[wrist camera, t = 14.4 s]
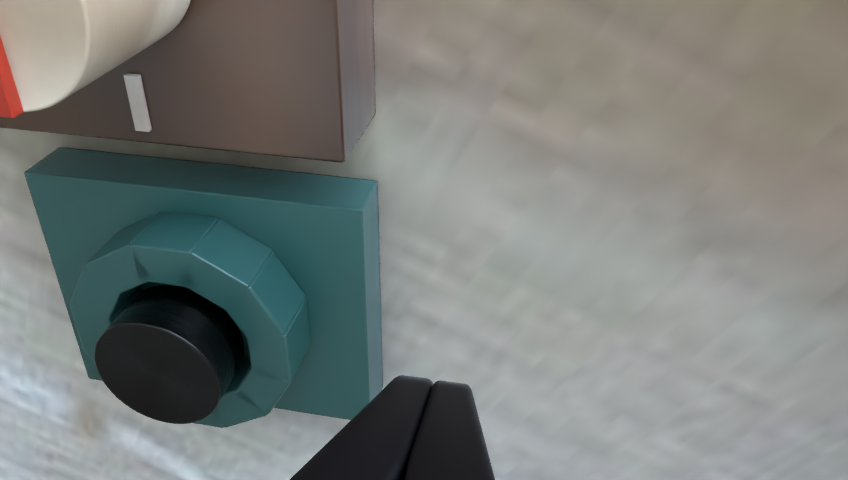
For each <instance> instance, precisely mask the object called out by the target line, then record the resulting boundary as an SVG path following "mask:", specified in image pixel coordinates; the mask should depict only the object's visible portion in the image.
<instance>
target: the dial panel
mask: <svg viewBox="0 0 848 480" xmlns="http://www.w3.org/2000/svg"><path fill="white" fill-rule="evenodd" d="M374 115H375V75H374V35H373V0H191V1H190V5H189V7H188V9H187V11H186V13H185V15H184V17H183V18H182V20H181V21H180V23H179V24H178V25H177V26H176V27H175V28H174V29H173V30H172V31H171V32H170V33H168V34H167V35H166V36H164V37H163V38H161V39H160V40H158V41H157V42H155V43H153V44H152V45H150V46H149V47H147V48H145V49H144V50H142V51H141V52H139V53H137V54H136V55H134V56H133V57H131V58H130V59H128V60H126V61H125V62H123V63H122V64H120V65H118V66H117V67H115V68H114V69H112V70H110V71H109V72H107V73H106V74H104V75H102V76H101V77H99V78H98V79H96V80H95V81H93V82H91V83H90V84H88V85H87V86H85V87H83V88H82V89H80V90H79V91H77V92H75V93H74V94H72V95H71V96H69V97H67V98H66V99H64V100H63V101H61V102H59V103H57V104H55V105H53V106H51V107H49V108H46V109H42V110H39V111H31V112H23V113H22V114H20V115H18V116H17V117H15V118H8V117H0V127H1V128H11V129H20V130H30V131H40V132H50V133H59V134H69V135H79V136H89V137H98V138H108V139H118V140H128V141H138V142H147V143H157V144H167V145H177V146H186V147H196V148H206V149H216V150H226V151H235V152H245V153H255V154H265V155H274V156H284V157H294V158H304V159H314V160H323V161H333V162H345V160H346V159H347V157H348V156H349V154H350V152H351V151H352V149H353V148H354V146H355V145H356V143H357V141H358V140H359V138H360V137H361V135H362V134H363V132H364V130H365V129H366V127H367V126H368V124H369V123H370V121H371V120H372V118H373V116H374Z"/></svg>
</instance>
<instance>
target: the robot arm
mask: <svg viewBox="0 0 848 480" xmlns="http://www.w3.org/2000/svg"><path fill="white" fill-rule="evenodd" d="M290 480H495V478H494V475H493V471H492V467H491V463H490V459H489V455H488V451H487V448H486V444H485V440H484V436H483V432H482V428H481V425H480V421H479V417H478V413H477V409H476V405H475V402H474V398H473V394H472V390H471V388H470V387H469V386H468V385H466V384H461V383H454V382H447V381H437V382H435V384H434V385H433V383H432V381H430V380H429V379H425V378H418V377H411V376H404V375H401V376H398V377H396V378H394V379H393V380H392V381H391V382H390V383H389V384H388V385H387V386H386V387H385V388H384V389H383V390H382V391H381V392H380V393H379V394H378V395H377V396H376V397H375V398H374V399H373V400H372V401H371V402H370V403H368V404H367V405H366V406H365V407H364V408H363V409H362V410H361V411H360V412H359V413H358V414H357V415H356V416H355V417H354V418H353V419H352V420H351V421H350V422H349V423H348V424H347V425H346V426H345V427H344V428H343V429H342V430H341V431H340V432H339V433H337V434H336V435H335V436H334V437H333V438H332V439H331V440H330V441H329V442H328V443H327V444H326V445H325V446H324V447H323V448H322V449H321V450H320V451H319V452H318V453H317V454H316V455H315V456H314V457H313V458H312V459H311V460H310V461H309V462H307V463H306V464H305V465H304V466H303V467H302V468H301V469H300V470H299V471H298V472H297V473H296V474H295V475H294V476H293V477H292V478H291V479H290Z"/></svg>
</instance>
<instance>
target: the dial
mask: <svg viewBox="0 0 848 480" xmlns="http://www.w3.org/2000/svg"><path fill="white" fill-rule="evenodd" d="M190 1H191V0H0V117H8V118H15V117H17V116H18V115H20V114H22V113H23V112H31V111H39V110H42V109H46V108H49V107H51V106H53V105H55V104H57V103H59V102H61V101H63V100H64V99H66V98H67V97H69V96H71V95H72V94H74V93H75V92H77V91H79V90H80V89H82V88H83V87H85V86H87V85H88V84H90V83H91V82H93V81H95V80H96V79H98V78H99V77H101V76H102V75H104V74H106V73H107V72H109V71H110V70H112V69H114V68H115V67H117V66H118V65H120V64H122V63H123V62H125V61H126V60H128V59H130V58H131V57H133V56H134V55H136V54H137V53H139V52H141V51H142V50H144V49H145V48H147V47H149V46H150V45H152V44H153V43H155V42H157V41H158V40H160V39H161V38H163V37H164V36H166V35H167V34H168V33H170V32H171V31H172V30H173V29H174V28H175V27H176V26H177V25H178V24H179V23H180V21H181V20H182V18H183V17H184V15H185V13H186V11H187V9H188V7H189V5H190Z"/></svg>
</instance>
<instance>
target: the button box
mask: <svg viewBox="0 0 848 480" xmlns="http://www.w3.org/2000/svg"><path fill="white" fill-rule="evenodd" d="M24 174H25V177H26V180H27V183H28V187H29V190H30V193H31V196H32V199H33V202H34V206H35V209H36V212H37V215H38V218H39V221H40V225H41V228H42V231H43V234H44V237H45V241H46V244H47V247H48V250H49V253H50V256H51V260H52V263H53V266H54V269H55V272H56V275H57V279H58V282H59V285H60V288H61V291H62V294H63V298H64V301H65V304H66V307H67V310H68V314H69V317H70V320H71V323H72V326H73V329H74V333H75V336H76V339H77V342H78V345H79V348H80V352H81V355H82V358H83V361H84V364H85V367H86V371H87V374H88V377H89V378H90V379H96V380H102V379H101V377H100V375H99V373H98V370H97V368H96V364H95V358H94V352H95V346H96V343H97V340H98V339H99V337H100V336H101V334H102V333H103V332H104V331H105V330H106V329H107V328H108V326H109V325H110V324H111V323H112V322H113V321H114V320H115V318H116V317H117V316H118V315H119V314H120V313H121V311H122V310H123V309H124V308H125V307H126V306H127V305H128V303H129V302H130V301H131V300H132V299H133V298H134V297H135V295H137V294H138V293H139V292H141V291H143V290H145V289H147V288H150V287H153V286H158V285H175V286H181V287H185V288H188V289H190V290H192V291H194V292H195V293H197V294H199V295H201V296H202V297H204V298H206V299H207V300H209V301H211V302H213V303H214V304H216V305H218V306H220V307H221V308H223V309H224V310H225V311H226V312H227V313H228V315H229V316H230V317H231V318H232V320H233V321H234V322H235V324H236V325H237V326H238V328H239V330H240V332H241V335H242V337H243V341H244V349H245V352H244V359H243V363H242V364H241V366H240V368H239V370H238V372H237V373H236V375H235V377H234V378H233V380H232V382H231V383H230V385H229V387H228V388H227V390H226V392H225V394H224V395H223V397H222V399H221V400H220V402H219V404H218V405H217V407H216V408H215V410H214V411H213V412H212V413H211V414H210V415H209V416H207V417H205V418H204V419H202V420H199V421H197V422H193V423H197V424H203V425H209V426H215V427H221V428H223V427H229V426H232V425H236V424H239V423H242V422H246V421H249V420H253V419H256V418H260V417H263V416H266V415H267V414H269V413H270V412H271V410H272V409H273V408H278V409H285V410H291V411H297V412H304V413H310V414H316V415H323V416H329V417H335V418H342V419H348V420H352V419H353V418H354V417H355V416H356V415H357V414H358V413H359V412H360V411H361V410H362V409H363V408H364V407H365V406H366V405H367V404H368V403H370V402H371V401H372V400H373V399H374V398H375V397H376V396H377V395H378V394H379V393H380V392H381V391H382V388H383V380H382V341H381V301H380V262H379V223H378V183H377V181H374V180H364V179H355V178H345V177H336V176H326V175H317V174H307V173H298V172H288V171H279V170H269V169H260V168H250V167H241V166H231V165H222V164H212V163H203V162H193V161H184V160H175V159H165V158H156V157H146V156H137V155H127V154H118V153H108V152H99V151H89V150H80V149H70V148H61V147H59V148H57V149H56V150H55V151H53V152H52V153H50V154H49V155H47V156H46V157H45V158H43V159H42V160H40V161H39V162H38V163H36V164H35V165H33V166H32V167H31V168H29V169H28V170H26V171H25V172H24ZM102 381H103V380H102Z"/></svg>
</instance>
